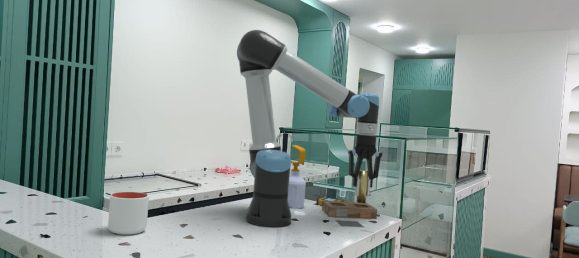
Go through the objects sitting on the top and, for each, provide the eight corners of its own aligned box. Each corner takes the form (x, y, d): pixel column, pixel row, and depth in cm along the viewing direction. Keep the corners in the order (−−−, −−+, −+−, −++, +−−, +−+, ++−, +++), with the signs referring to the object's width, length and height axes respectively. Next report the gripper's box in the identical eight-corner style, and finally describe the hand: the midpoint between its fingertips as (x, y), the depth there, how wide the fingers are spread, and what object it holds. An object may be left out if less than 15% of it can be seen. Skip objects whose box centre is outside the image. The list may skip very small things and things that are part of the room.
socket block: (376, 220, 152) (377, 209, 152) (329, 218, 150) (330, 207, 149) (366, 212, 164) (366, 202, 164) (322, 210, 162) (322, 200, 162)
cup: (108, 237, 107) (111, 199, 107) (106, 227, 116) (109, 191, 116) (148, 235, 112) (151, 198, 112) (143, 225, 121) (146, 191, 121)
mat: (341, 227, 137) (341, 226, 137) (335, 221, 145) (335, 220, 145) (364, 228, 138) (364, 227, 138) (357, 222, 146) (357, 221, 146)
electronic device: (350, 213, 164) (351, 205, 163) (315, 206, 172) (316, 198, 171) (358, 210, 171) (359, 202, 171) (324, 203, 179) (325, 195, 179)
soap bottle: (289, 203, 171) (294, 144, 171) (308, 207, 166) (313, 146, 166) (276, 205, 164) (281, 144, 164) (295, 210, 159) (300, 146, 158)
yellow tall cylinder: (358, 202, 155) (360, 171, 155) (355, 200, 159) (357, 170, 159) (367, 203, 156) (369, 171, 156) (364, 201, 160) (366, 170, 159)
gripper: (348, 133, 152) (343, 196, 153) (391, 136, 155) (386, 198, 155) (342, 132, 160) (338, 192, 160) (383, 135, 162) (379, 194, 162)
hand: (361, 195), depth 158 cm, fingers closed on yellow tall cylinder, 3 cm apart
